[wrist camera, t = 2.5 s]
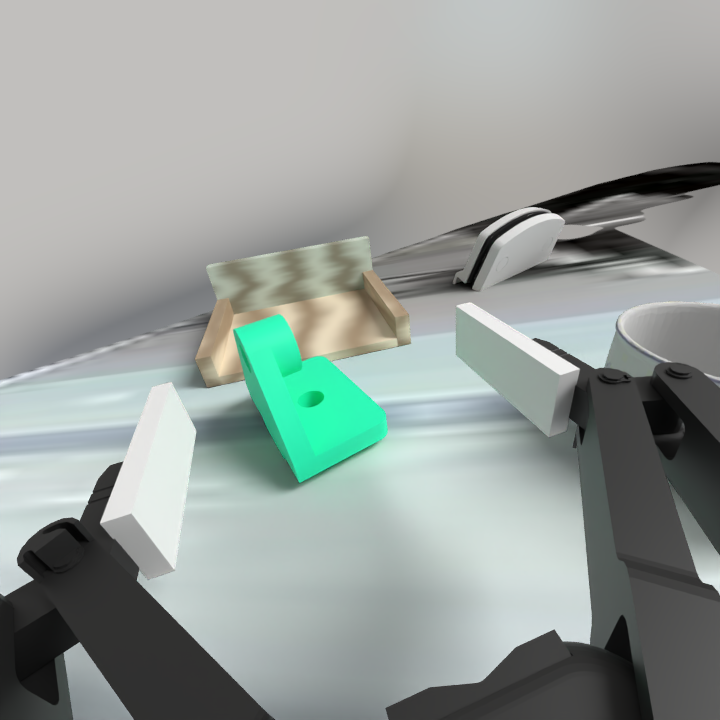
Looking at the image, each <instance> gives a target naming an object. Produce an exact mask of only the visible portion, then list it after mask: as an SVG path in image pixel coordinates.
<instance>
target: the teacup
mask: <svg viewBox="0 0 720 720" xmlns="http://www.w3.org/2000/svg"><path fill="white" fill-rule="evenodd" d="M665 362H678V363H682V364H683V363H684V364H687V365H689V366H692V367H695V368H697V369H698V370H700V371H701V372H703V373H704V374H705V375H706V376H707V377H708V378H709V379H711V380H712V381H713V382H714V383H715V384H716V385H717V386H718V387H719V388H720V304H713V303H697V302H680V301H669V302H659V303H648V304H644V305H639V306H635V307H633V308H630V309H628V310H626V311H624V312H623V313H622V314H621V315H620V316H619V317H618V319H617V322H616V332H615V335H614V338H613V341H612V344H611V347H610V350H609V354H608V357H607V360H606V364H605V367H604V368H612V369H618V370H621V371H623V372H626V373H628V374H629V375H631V376H632V377H644V376H652V374H653V371H654V368H655V366H656V365H658V364H660V363H665Z"/></svg>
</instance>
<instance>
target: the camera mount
mask: <svg viewBox="0 0 720 720" xmlns="http://www.w3.org/2000/svg"><path fill="white" fill-rule="evenodd" d="M233 333H234V337H235V341H236V345H237V349H238V353H239V357H240V361H241V365H242V369H243V373H244V377H245V381H246V384H247V387H248V390H249V393H250V395H251V398H252V400H253V401H254V403H255V405H256V407H257V408H258V410H259V412H260V414H261V416H262V417H263V420H264V423H265V425H266V427H267V429H268V431H269V433H270V435H271V436H272V438H273V440H274V442H275V444H276V445H277V447H278V449H279V451H280V453H281V454H282V456H283V458H284V459H286V460H287V462H288V464H289V465H290V467H291V469H292V471H293V473H294V474H295V476H296V478H297V480H298V481H299V483H301V482H303V481H305V480H306V479H308V478H310V477H312V476H314V475H316V474H318V473H320V472H321V471H323V470H325V469H327V468H329V467H331V466H333V465H334V464H336V463H338V462H340V461H342V460H344V459H346V458H348V457H349V456H351V455H353V454H355V453H357V452H359V451H361V450H363V449H364V448H366V447H368V446H370V445H372V444H374V443H376V442H378V441H379V440H381V439H383V438H384V437H385V436H386V435H387V432H388V429H387V421H386V413H385V411H384V410H383V409H382V408H381V407H379V406H378V405H377V404H376V403H375V402H374V401H373V400H372V399H371V398H370V397H369V396H367V395H366V394H365V393H364V392H363V391H362V390H361V389H360V388H359V387H358V386H357V385H355V384H354V383H353V382H352V381H351V380H350V379H349V378H348V377H347V376H346V375H345V374H343V373H342V372H341V371H340V370H339V369H338V368H337V367H336V366H335V365H334V364H333V363H331V362H330V361H329V360H328V359H327V358H326V357H323V356H316V357H312V358H310V359H307V360H305V361H302V360H301V355H300V351H299V348H298V345H297V342H296V340H295V337H294V335H293V333H292V330H291V328H290V327H289V325H288V323H287V321H286V320H285V318H284V317H283V316H282V315H281V314H277V315H274V316H271V317H268V318H265V319H262V320H259V321H256V322H253V323H250V324H247V325H244V326H241V327H238V328H235V329H233Z"/></svg>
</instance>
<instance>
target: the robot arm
mask: <svg viewBox="0 0 720 720" xmlns="http://www.w3.org/2000/svg"><path fill="white" fill-rule="evenodd" d="M456 355H457V356H458V357H459V358H460V359H461V360H462V361H463V362H465V363H466V364H467V365H468V366H469V367H470V368H471V369H472V370H474V371H475V372H476V373H477V374H478V375H479V376H480V377H481V378H483V379H484V380H485V381H486V382H487V383H488V384H489V385H490V386H492V387H493V388H494V389H495V390H496V391H497V392H498V393H499V394H501V395H502V396H503V397H504V398H505V399H506V400H507V401H508V402H510V403H511V404H512V405H513V406H514V407H515V408H516V409H517V410H519V411H520V412H521V413H522V414H523V415H524V416H525V417H526V418H528V419H529V420H530V421H531V422H532V423H533V424H534V425H535V426H537V427H538V428H539V429H540V430H541V431H542V432H543V433H544V434H546V435H547V436H548V437H552V436H555V435H557V434H560V433H563V432H566V431H567V428H568V423H569V418H570V419H571V420H573V421H574V422H575V423H577V424H578V426H577V431H576V435H575V439H574V444H573V448H576V447H577V448H578V460H579V471H580V483H581V494H582V506H583V517H584V529H585V540H586V552H587V563H588V575H589V586H590V598H591V609H592V628H591V637H590V645H589V644H584V643H579V642H562V640H561V639H560V637H559V636H558V634H557V633H556V631H555V630H552V631H550V632H548V633H546V634H544V635H541V636H539V637H537V638H535V639H533V640H531V641H528V642H526V643H524V644H522V645H520V646H518V647H516V648H515V649H514V650H513V651H512V652H511V653H510V654H509V655H508V656H507V657H506V658H505V659H504V660H503V661H502V662H501V663H500V664H499V665H498V666H497V667H496V668H495V669H494V670H493V671H492V672H491V673H490V674H489V675H488V676H487V677H486V678H485V679H484V680H483V681H481V682H479V683H473V684H462V685H451V686H440V687H430V688H428V689H426V690H423V691H421V692H419V693H417V694H415V695H413V696H411V697H408V698H406V699H404V700H402V701H400V702H398V703H396V704H393V705H391V706H389V707H387V708H386V711H387V715H388V719H389V720H720V595H719V593H718V591H717V590H716V589H715V588H714V587H713V586H712V585H709V584H705V583H703V582H702V581H701V580H700V579H699V577H698V574H697V572H696V569H695V566H694V562H693V559H692V556H691V553H690V550H689V547H688V544H687V541H686V538H685V534H684V531H683V528H682V525H681V522H680V519H679V516H678V513H677V510H676V506H675V503H674V500H673V497H672V494H671V491H670V488H669V485H668V481H667V478H668V479H669V481H670V482H671V484H672V485H673V487H674V488H675V490H676V491H677V493H678V494H679V495H680V497H681V498H682V500H683V501H684V503H685V504H686V506H687V507H688V509H689V510H690V512H691V513H692V515H693V516H694V518H695V519H696V521H697V522H698V524H699V525H700V527H701V528H702V530H703V531H704V533H705V534H706V536H707V537H708V539H709V540H710V542H711V543H712V545H713V546H714V548H715V549H716V551H717V552H718V553H719V555H720V388H719V387H718V386H717V385H716V384H715V383H714V382H713V381H712V380H711V379H709V378H708V377H707V376H706V375H705V374H704V373H703V372H701V371H700V370H698V369H697V368H695V367H692V366H689V365H687V364H684V363H683V364H682V363H678V362H665V363H660V364H658V365H656V366H655V368H654V371H653V374H652V376H644V377H632V376H631V375H629V374H628V373H626V372H623V371H621V370H618V369H612V368H599V369H594V368H592V367H591V366H589V365H587V364H586V363H584V362H582V361H580V360H579V359H577V358H575V357H574V356H572V355H570V354H567V352H565V351H563V350H562V349H559V348H558V347H556V346H555V345H553V344H551V343H550V342H547V341H544V340H540V339H537V338H534V339H530V338H528V337H527V336H525V335H523V334H522V333H520V332H518V331H517V330H515V329H513V328H512V327H510V326H509V325H507V324H505V323H504V322H502V321H500V320H499V319H497V318H495V317H494V316H492V315H490V314H489V313H487V312H485V311H484V310H482V309H481V308H479V307H477V306H476V305H474V304H472V303H471V302H469V303H465V304H461V305H458V306H456ZM195 437H196V429H195V427H194V425H193V423H192V421H191V419H190V417H189V415H188V413H187V411H186V409H185V407H184V406H183V404H182V402H181V400H180V398H179V396H178V394H177V392H176V390H175V388H174V386H173V384H172V382H169V383H165V384H161V385H157V386H154V387H152V388H151V391H150V394H149V396H148V399H147V401H146V404H145V407H144V409H143V412H142V414H141V417H140V420H139V422H138V425H137V428H136V430H135V433H134V435H133V438H132V441H131V443H130V446H129V448H128V451H127V454H126V456H125V459H124V461H123V462H120V463H117V464H113V465H110V466H109V467H108V468H107V469H106V471H105V472H104V473H103V474H102V475H101V476H100V477H99V479H98V481H97V483H96V485H95V488H94V490H93V494H91V497H90V499H89V501H88V505H87V506H86V508H85V510H84V513H83V515H82V517H81V519H80V521H79V520H77V519H75V518H63V519H60V520H58V521H55V522H53V523H51V524H49V525H47V526H46V527H44V528H42V529H41V530H39V531H38V532H37V533H36V534H35V535H33V536H32V537H31V538H30V539H29V540H28V541H27V542H26V544H25V545H24V546H23V547H22V549H21V550H20V553H19V555H18V557H17V563H18V566H19V567H20V568H22V569H23V570H24V571H25V572H26V573H27V574H28V575H30V576H31V577H32V578H33V579H34V580H33V581H31V582H29V583H27V584H26V585H24V586H22V587H20V588H19V589H17V590H15V591H13V592H12V593H10V594H8V595H6V596H5V597H4V596H3V595H1V594H0V720H73V716H72V709H71V702H70V695H69V688H68V681H67V674H66V667H65V660H64V652H65V651H67V650H68V649H70V648H71V647H73V646H74V645H76V644H77V643H79V642H80V643H81V644H82V646H83V647H84V649H85V650H86V651H87V653H88V654H89V656H90V657H91V659H92V660H93V661H94V663H95V664H96V666H97V667H98V669H99V670H100V671H101V673H102V674H103V676H104V677H105V679H106V680H107V681H108V683H109V684H110V686H111V687H112V689H113V690H114V691H115V693H116V694H117V696H118V697H119V699H120V700H121V701H122V703H123V704H124V706H125V707H126V709H127V710H128V711H129V713H130V714H131V716H132V717H133V719H134V720H275V719H274V718H273V717H271V716H270V715H269V714H268V713H267V712H266V711H265V710H264V709H263V708H262V707H261V706H260V705H259V704H258V703H257V702H256V701H255V700H254V699H253V698H252V697H251V696H250V695H249V694H248V693H247V692H246V691H245V690H244V689H243V688H242V687H241V686H240V685H239V684H238V683H237V682H236V681H235V680H234V679H233V678H232V677H231V676H230V675H229V674H228V673H227V672H226V671H225V670H224V669H223V668H222V667H221V666H220V665H219V664H218V663H217V662H216V661H215V660H214V659H213V658H212V657H211V656H210V655H209V654H208V653H207V652H206V651H205V650H204V649H203V648H202V647H201V646H200V645H199V644H198V643H197V642H196V641H195V640H194V638H193V637H192V636H191V635H190V634H189V633H188V632H187V631H186V630H185V629H184V628H183V627H182V626H181V625H180V624H179V623H178V622H177V621H176V620H175V619H174V618H173V617H172V616H171V615H170V614H169V613H168V612H167V611H166V610H165V609H164V608H163V607H162V606H161V605H160V604H159V603H158V602H157V601H156V600H155V599H154V598H153V597H152V596H151V595H150V594H149V593H148V592H147V591H146V590H145V589H144V588H143V587H142V586H141V585H140V584H139V583H138V582H137V581H136V580H137V576H138V572H139V570H140V571H141V572H142V574H143V575H144V576H145V577H146V578H147V580H150V579H152V578H155V577H158V576H161V575H164V574H166V573H169V572H172V571H175V566H176V560H177V553H178V547H179V540H180V534H181V527H182V521H183V514H184V508H185V502H186V495H187V489H188V482H189V476H190V469H191V463H192V456H193V450H194V444H195ZM666 476H667V478H666Z"/></svg>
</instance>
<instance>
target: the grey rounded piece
mask: <svg viewBox="0 0 720 720" xmlns="http://www.w3.org/2000/svg"><path fill="white" fill-rule="evenodd" d="M564 224H565V220H563V219H562V218H561V217H560V216H559V215H556V214H551V211H548V210H545V209H541V208H535V207H530V208H524V209H520V210H518V211H515V212H513V213H510V214H508V215H506V216H504V217H503V218H501V219H499V220H498V221H496V222H495V223H493V224H492V225H490V226H489V227H488V228H486V229H485V230H483V231H482V232H481V233H480V235H479V236H478V238H477V240H476V243H475V245H474V247H473V250H472V252H471V254H470V257H469V259H468V261H467V263H466V266H465V268H464V270H462V271H459V272H457V273H456V274H455V277H454V280H453V284H457V283H459V282H461V281H463V282H464V283H467V282H469V283H470V282H472V281H473V283H472V285H473V287H472V289H474V290H476V291H482V290H484V289H486V288H488V287H490V286H492V285H495V284H497V283H499V282H501V281H503V280H505V279H507V278H509V277H512V276H514V275H516V274H518V273H520V272H522V271H524V270H526V269H529V268H531V267H533V266H535V265H537V264H539V263H541V262H543V261H546V260H548V258H549V256H550V254H551V252H552V250H553V247H554V245H555V243H556V241H557V239H558V236H559V234H560V232H561V230H562V228H563V226H564Z"/></svg>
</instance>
